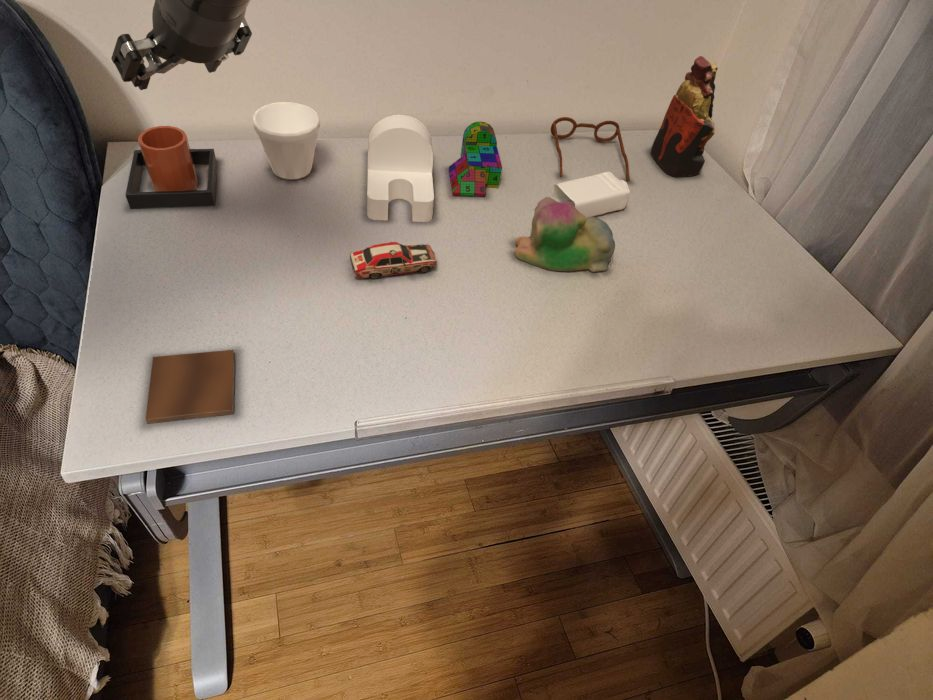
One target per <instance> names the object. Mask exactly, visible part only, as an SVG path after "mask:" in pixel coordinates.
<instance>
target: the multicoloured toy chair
mask: <svg viewBox="0 0 933 700" xmlns="http://www.w3.org/2000/svg"><path fill="white" fill-rule="evenodd" d="M502 170H503V165H502V161H501V156H500V153H499V149H498V141H497V137H496V133H495V130H494V127H493V126H492V125H491V124H490V123H488V122H486V121H475V122H472V123H471V124H469V125H467V127H466V128H465V129H464V131H463V134H462V142H461V149H460V157H459V158H458V159H457V160H455V161H454V162H453V163H452V164H451V165H449V166H448V175H449V182H450V183H449V184H450V188H451V195H452V197H471V198H472V197H474V198H485V196H486V188H487V189H488V188H490V189H499V188H500V181H501V176H502V172H503V171H502Z"/></svg>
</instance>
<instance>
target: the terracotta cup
mask: <svg viewBox="0 0 933 700" xmlns="http://www.w3.org/2000/svg"><path fill="white" fill-rule="evenodd" d="M187 135H188V134H186V132H185V131H184V130H183V129H181V128H179V127H175V126H172V125H158V126H152V127H149V128H147V129H145V130H143V131H142V132H141V133H140V134H139V135H138V139H137V142H138V145H139V148H140V150H141V151H142V155H143V158H144V161H145V164H146V166H145V167H146V170H147V173H148V176H149V180H150V182H151V183H150V184H151V185H152V187H153V190H154V192H159V191H190V190H197V188H198V185H199V180H198V176H197V171H196V168H195V165H194V163H193V159H192V155H191V151H190V149H191V148H190V143H189V139H188V136H187Z"/></svg>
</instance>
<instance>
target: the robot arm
mask: <svg viewBox="0 0 933 700" xmlns="http://www.w3.org/2000/svg"><path fill="white" fill-rule="evenodd" d="M250 2H251V0H154V3H153V7H152V16H151V19H152V29H151V30H150V31H149V32H148V33H147V34H146V36H145V38H143V39H138V40H137V39H136V40H134V39H133V37H132V36H131V35H130V34H129V33H123V34H120V35H119V36H118V37H117V40H116V41H115V46H114V49H113V52H112V54H111V58H110V59H111V62H112V63H113V64H114V66H115V68H116V70H117V72H118V74H119V75H120V78H121V80H122V82H123V83H130V82H131V83H132V85H133V87H134V88H138V89H139V90H140V91H144V90H146V89H148V88H149V87H148V86H149V84H150V81H151V78H152V76H154V75H155V74H166V73H167V72H169V71H171V70H172V69H174V68H175V67H177V66H178V65H185V64H186V63H187V62H190V63H195V64H204V66H205V68H206V71H207V73H209V74H211V73H215V72H216V71H217V69H218V68H219V66H221V64H222V62H224V61H226V60H228V59H229V54H233V56H241V55H242V54H243V53H244V52H245V50H246V48H247V45H248V44H249V42H250V39H251V37H252V35H253V32H252V30H251V28H250V25H249V24H248V21H247V20H246V17H245V15H246V12H247V10H248V7H249V4H250ZM144 58H145V59H146V61H147V63H148V67H147V66H146V65H145V60H144ZM162 60H165V61H163V62H162Z"/></svg>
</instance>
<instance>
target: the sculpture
mask: <svg viewBox="0 0 933 700" xmlns="http://www.w3.org/2000/svg"><path fill="white" fill-rule="evenodd" d="M614 239H615V238H614V235H613V230H612V229H611V227H610V226H609V224H608V223H607V222H606V221H604V220H603V219H601V218H598V217H596V216H593V217H587V218H586V217H585V216H584V215H583V214H582V213H580V212H579V211H578V210H577V209H576V208H575V206H574V205H573V204H572V203H561V202H558V201H556V200H554V199H552V198H550V197H549V196H547V197H543V198H542V199H540V200H539V201H538V202H537V204H536V206H535V208H534V214H533V217H532V220H531V230H530V236H518V237H517V238H516V239H515V241H514V244H515V246H516V249H515V250H514V256H515V257H516V258H517V259H518V260H520V261H523V262H525V263H528V264H531V265H533V266H536V267H539V268H542V269H544V270H549V271H555V272H556V271H557V272H574V271H585V270H589V271H590V272H592V273H596V272H605V271H607V270H608V264H609V262H610V261H611V260H612V258H613V256H614V253H615V250H616V241H615V240H614Z"/></svg>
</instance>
